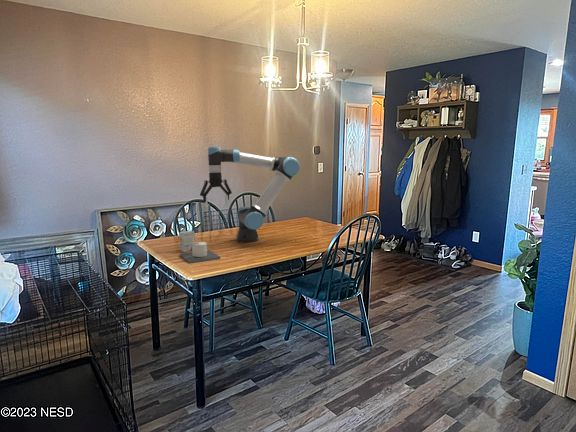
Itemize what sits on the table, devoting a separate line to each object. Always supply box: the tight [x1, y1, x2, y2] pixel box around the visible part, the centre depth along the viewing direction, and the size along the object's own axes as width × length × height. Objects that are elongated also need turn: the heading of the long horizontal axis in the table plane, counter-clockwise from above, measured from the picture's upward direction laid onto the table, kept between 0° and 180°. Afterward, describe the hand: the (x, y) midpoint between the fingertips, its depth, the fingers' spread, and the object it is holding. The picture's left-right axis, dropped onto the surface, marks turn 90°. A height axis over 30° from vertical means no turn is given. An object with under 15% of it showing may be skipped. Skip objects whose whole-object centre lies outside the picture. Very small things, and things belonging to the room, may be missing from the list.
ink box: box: [178, 230, 196, 253], centre depth 240 cm, size 9×5×12 cm, turn 136°
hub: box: [179, 249, 221, 264], centre depth 225 cm, size 18×18×6 cm
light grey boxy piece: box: [191, 241, 208, 257], centre depth 225 cm, size 8×8×8 cm
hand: (216, 206), depth 245 cm, fingers open, 13 cm apart
